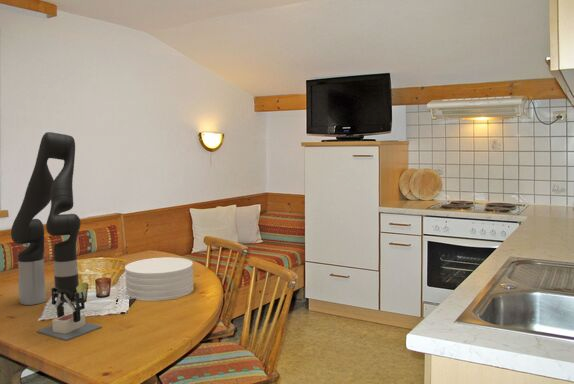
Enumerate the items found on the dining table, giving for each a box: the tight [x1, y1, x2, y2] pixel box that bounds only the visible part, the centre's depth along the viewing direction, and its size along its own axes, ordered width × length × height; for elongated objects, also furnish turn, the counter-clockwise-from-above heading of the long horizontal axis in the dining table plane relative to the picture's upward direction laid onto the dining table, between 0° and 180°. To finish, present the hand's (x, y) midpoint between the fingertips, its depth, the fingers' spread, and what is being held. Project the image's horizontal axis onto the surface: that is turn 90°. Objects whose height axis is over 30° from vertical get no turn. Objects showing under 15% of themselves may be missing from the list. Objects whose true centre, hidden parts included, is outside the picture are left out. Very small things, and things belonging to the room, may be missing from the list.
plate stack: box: [124, 256, 194, 302], centre depth 228 cm, size 28×28×12 cm
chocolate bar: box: [108, 298, 137, 315], centre depth 207 cm, size 9×1×18 cm
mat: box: [35, 321, 103, 342], centre depth 183 cm, size 16×14×1 cm
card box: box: [51, 311, 86, 334], centre depth 183 cm, size 9×6×4 cm, turn 156°
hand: (68, 319), depth 183 cm, fingers open, 8 cm apart
